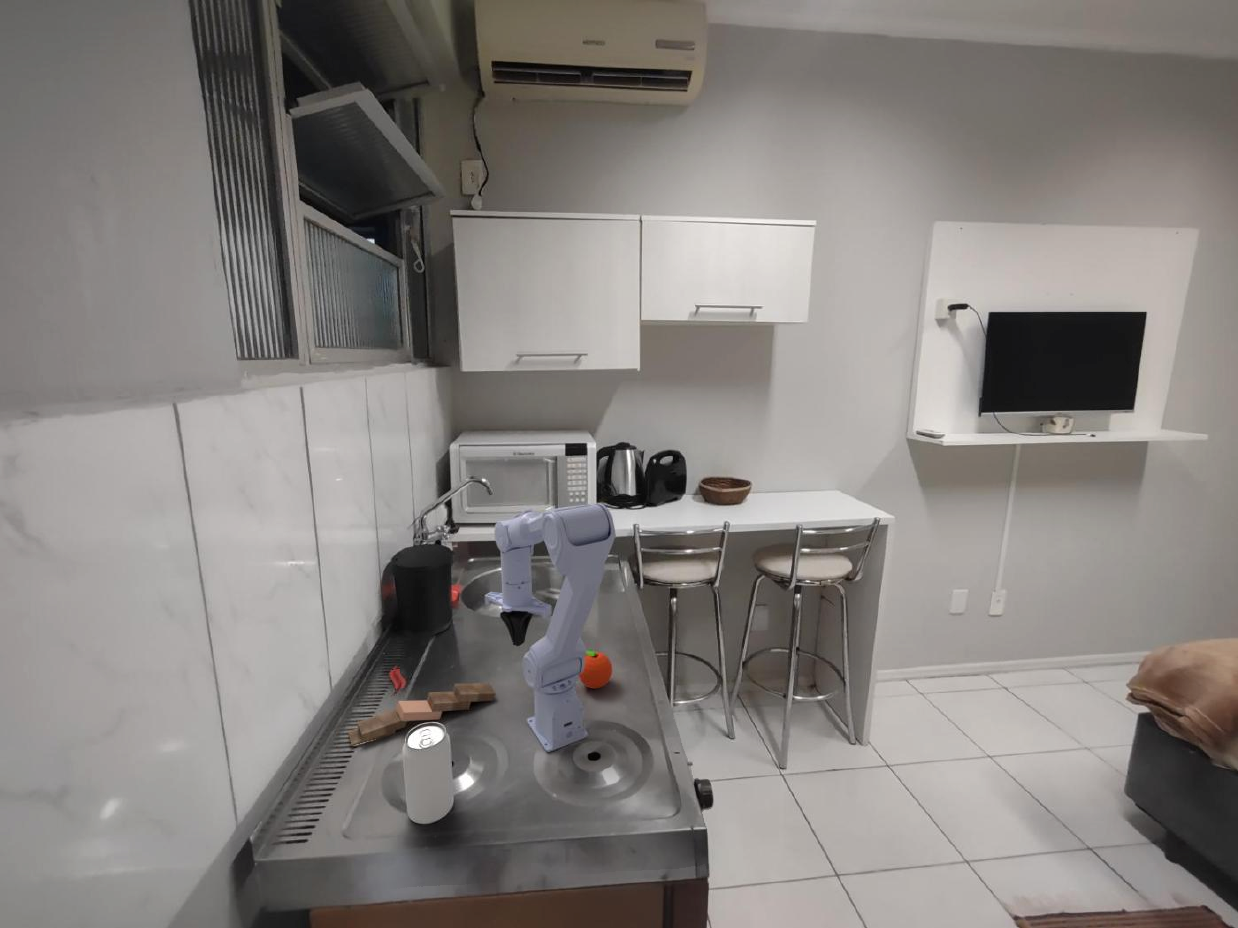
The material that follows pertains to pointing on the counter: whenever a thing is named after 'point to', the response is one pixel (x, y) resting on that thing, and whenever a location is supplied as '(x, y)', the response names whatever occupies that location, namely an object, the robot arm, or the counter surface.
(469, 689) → the domino
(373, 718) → the domino
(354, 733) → the domino
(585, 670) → the clementine
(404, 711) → the domino
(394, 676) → the cayenne pepper
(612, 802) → the counter surface
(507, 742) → the counter surface
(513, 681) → the counter surface
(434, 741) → the can
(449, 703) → the domino
